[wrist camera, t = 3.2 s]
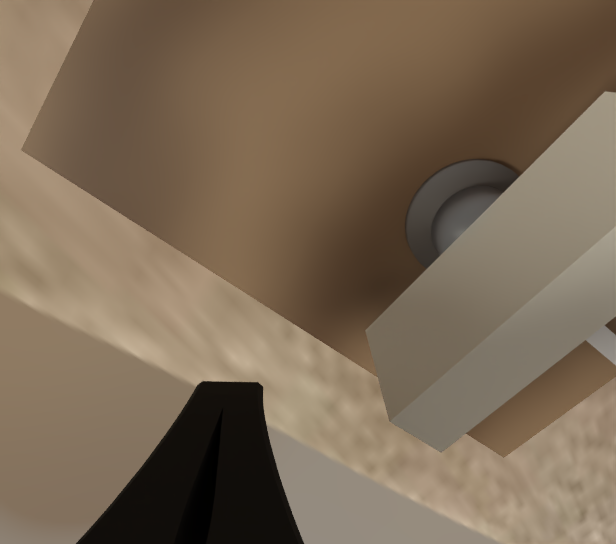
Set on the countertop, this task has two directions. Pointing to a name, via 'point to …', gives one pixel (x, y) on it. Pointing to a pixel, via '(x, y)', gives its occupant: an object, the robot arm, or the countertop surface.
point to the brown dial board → (327, 144)
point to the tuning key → (506, 287)
